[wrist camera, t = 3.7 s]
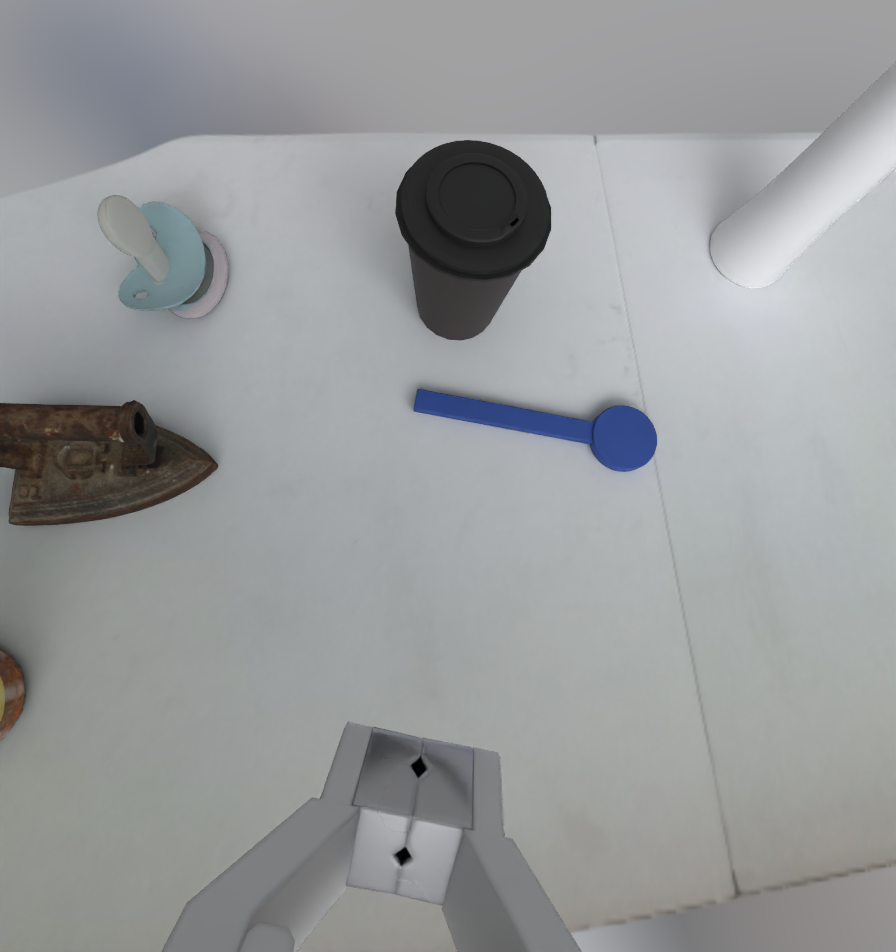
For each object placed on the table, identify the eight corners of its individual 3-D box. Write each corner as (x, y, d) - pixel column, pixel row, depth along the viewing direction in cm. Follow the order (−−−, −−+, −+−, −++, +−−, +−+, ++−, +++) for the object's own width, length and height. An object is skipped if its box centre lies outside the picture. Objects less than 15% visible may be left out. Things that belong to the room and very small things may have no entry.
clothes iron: (26, 413, 29) (-85, 317, 20) (227, 427, 33) (208, 352, 24) (1, 526, 27) (-135, 474, 18) (218, 528, 31) (194, 486, 22)
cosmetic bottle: (729, 204, 37) (1187, -308, 15) (796, 247, 37) (1354, -212, 15) (695, 260, 36) (1141, -216, 14) (763, 304, 35) (1323, -109, 14)
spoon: (409, 433, 31) (409, 429, 30) (421, 371, 32) (421, 365, 31) (648, 477, 32) (655, 474, 31) (653, 415, 33) (659, 411, 32)
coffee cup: (502, 370, 32) (546, 284, 23) (385, 344, 32) (377, 244, 22) (521, 267, 34) (569, 144, 24) (410, 241, 34) (413, 105, 24)
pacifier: (236, 233, 33) (142, 225, 32) (201, 156, 27) (85, 144, 26) (226, 332, 31) (127, 326, 30) (186, 274, 25) (63, 264, 24)
